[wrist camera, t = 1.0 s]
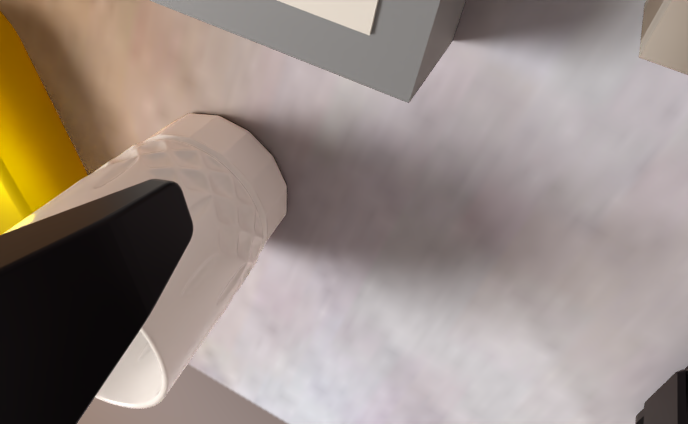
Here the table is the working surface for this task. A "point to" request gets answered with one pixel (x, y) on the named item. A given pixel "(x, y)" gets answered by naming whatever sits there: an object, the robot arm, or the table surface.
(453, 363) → the table surface
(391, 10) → the dock
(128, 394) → the white cup
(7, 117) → the element tile
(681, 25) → the grey slotted block
